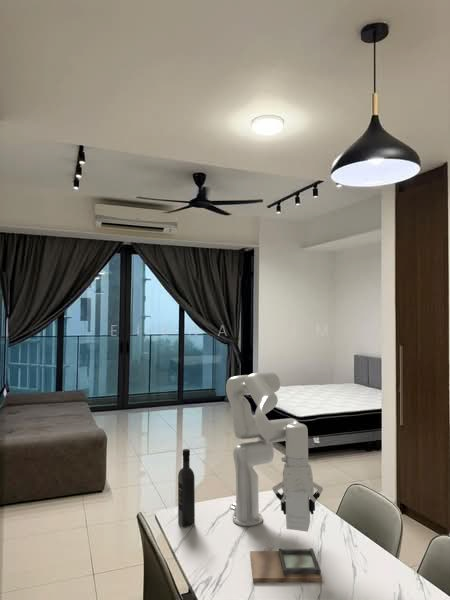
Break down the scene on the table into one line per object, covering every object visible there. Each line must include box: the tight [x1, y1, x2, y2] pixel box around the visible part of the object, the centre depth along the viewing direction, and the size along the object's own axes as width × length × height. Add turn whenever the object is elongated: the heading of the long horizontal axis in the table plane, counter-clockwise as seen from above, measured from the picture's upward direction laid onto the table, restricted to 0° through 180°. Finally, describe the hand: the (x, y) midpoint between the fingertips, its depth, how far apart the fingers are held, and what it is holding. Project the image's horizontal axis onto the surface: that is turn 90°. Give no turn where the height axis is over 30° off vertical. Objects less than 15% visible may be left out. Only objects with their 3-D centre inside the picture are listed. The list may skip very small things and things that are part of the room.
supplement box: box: [285, 491, 311, 532], centre depth 144 cm, size 7×7×13 cm
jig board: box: [249, 547, 323, 584], centre depth 143 cm, size 22×16×3 cm
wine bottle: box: [177, 448, 196, 528], centre depth 175 cm, size 6×6×30 cm
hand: (298, 512), depth 144 cm, fingers closed on supplement box, 8 cm apart
